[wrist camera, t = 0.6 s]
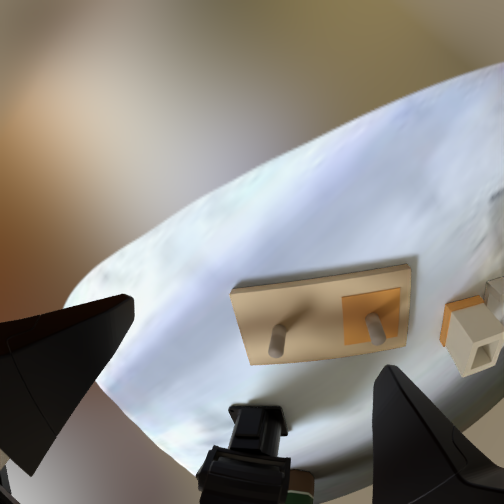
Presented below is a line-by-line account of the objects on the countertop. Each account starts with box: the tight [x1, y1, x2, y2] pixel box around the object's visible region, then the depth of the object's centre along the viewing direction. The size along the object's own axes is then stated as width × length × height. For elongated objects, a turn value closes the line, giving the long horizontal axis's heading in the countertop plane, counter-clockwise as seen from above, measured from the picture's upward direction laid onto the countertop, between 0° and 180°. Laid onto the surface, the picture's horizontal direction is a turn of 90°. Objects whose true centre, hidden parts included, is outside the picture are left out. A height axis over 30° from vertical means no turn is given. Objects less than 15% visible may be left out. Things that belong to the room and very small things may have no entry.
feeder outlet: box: [484, 277, 504, 347], centre depth 18 cm, size 7×4×3 cm, turn 13°
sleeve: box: [439, 295, 504, 378], centre depth 18 cm, size 4×4×6 cm
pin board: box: [229, 264, 411, 365], centre depth 21 cm, size 8×15×4 cm, turn 103°
